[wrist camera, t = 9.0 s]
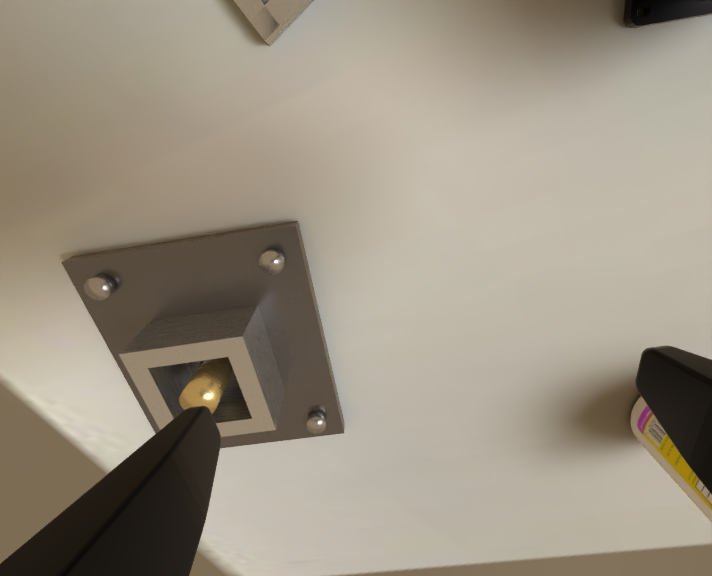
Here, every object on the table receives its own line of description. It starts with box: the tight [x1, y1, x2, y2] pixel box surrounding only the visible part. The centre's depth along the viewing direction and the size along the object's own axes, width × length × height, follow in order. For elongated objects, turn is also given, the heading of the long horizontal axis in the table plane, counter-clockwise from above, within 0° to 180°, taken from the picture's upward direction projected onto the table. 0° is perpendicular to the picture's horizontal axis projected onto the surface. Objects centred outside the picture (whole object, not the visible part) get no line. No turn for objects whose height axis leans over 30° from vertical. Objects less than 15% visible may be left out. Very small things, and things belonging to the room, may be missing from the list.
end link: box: [119, 305, 285, 437], centre depth 19 cm, size 6×6×3 cm
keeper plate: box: [62, 222, 344, 448], centre depth 20 cm, size 12×14×4 cm
